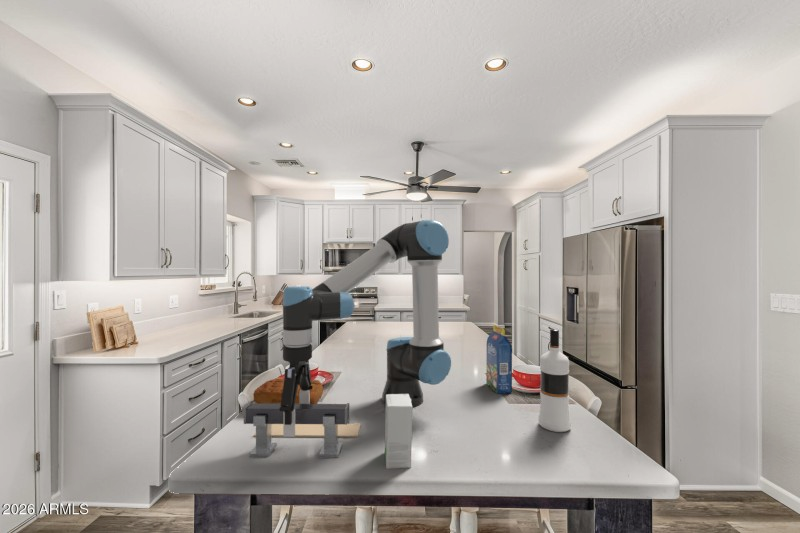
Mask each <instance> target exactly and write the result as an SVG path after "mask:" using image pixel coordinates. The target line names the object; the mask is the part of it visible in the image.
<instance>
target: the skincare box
mask: <svg viewBox="0 0 800 533" xmlns="http://www.w3.org/2000/svg"><path fill="white" fill-rule="evenodd" d="M413 409H414V407H413V406H412V403H411V399H410V397H409V394H386V404H385V417H384V418H385V420H384V421H385V423H384V424H385V427H384V459H385V469H389V470H390V469H391V470H392V469H408V468H409V469H411V468H412V442H413V441H412V439H413Z"/></svg>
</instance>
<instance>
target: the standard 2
mask: <svg viewBox="0 0 800 533" xmlns="http://www.w3.org/2000/svg"><path fill="white" fill-rule="evenodd" d="M323 426H324V437H323V445H322V447H321V449H320V450H319V453H318V458H339V456H340V454H341V450H342V448H343V443H342V442H339V437H338V424H335V416H323Z"/></svg>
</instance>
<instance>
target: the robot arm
mask: <svg viewBox="0 0 800 533" xmlns="http://www.w3.org/2000/svg"><path fill="white" fill-rule="evenodd" d="M449 243H450V238H449V234H448V231H447V229H446V227H444V226H443V224H442V223H441V222H439V221H437V220H434V219H433V220H432V219H425V220H424V219H423V220H418V221H414V222H408V223H407V222H406V223H403V224H401V225H399V226H396V227H395V228H393V229H392V230H390V231H389V232H388V233H387V234H385V235H384V236H382V237H381V238H380V239H378V240H377V241H376V245H374V246H373V247H371V248H370V249H368V250H367V251H366V252H364V253H362V254H361V255H360V256H358V257H357V258H356V259H354V260H353V261H351V262H350V263H348V264H347V265H346V266H344V267H343V268H341V269H339V270H338V271H337V272H336V273H334V274H332V275H330V277H328V278H327V279H326V280H324V281H323V282H321V283H319V284H318V285H316V286H315V287H314V288H312V287H311V286H304V285H303V286H301V285H300V286H296V285H295V286H287V287H285V288H284V290H283V296H282V323H283V324H282V325H283V326H282V331H281V332H280V333H281V334H280V335H281V336H283V337H282V343H283V347H282V360H283V361H284V362H288V364H289V367H288V368H285V369H284V377H283V378H284V385H283V392H282V399H281V406H280V409H279V410H280V411H283V437H282V438H295V437H294V436H295V409H294V405H295V400H296V395H297V390H298V385H299V386H300V389H301V390H300V391H299V404H310V390H312V388H313V386H310V385H311V384H312V381H311V380H312V376H311V370H310V360H311V359H312V358H313V345H312V342H313V322H315V321H324V320H325V321H327V320H338V319H339V320H341V319H345V318H346V319H347V318H350V317H351V316H352V315H353V313H354V309H355V301H354V297H353V296H352V294H351V293H349V292H351V291H352V290H353V289H355V288H356V287H358V286H360V284H362V283H363V282H365V281H366V280H368V279H369V277H372V276H373V275H374V274H375V273H376V272H378V271H379V270H381V269H383V267H385V266H386V265H388V264H389V263H390V264H393V263H395V262H397V261H398V260H399V259H402V258H405V257H407V260H406V261H407V262H408V263H409V265H410V266H411V272H412V274H411V275H412V278H411V279H412V282H411V283H412V285H411V286H412V321H413V322H412V323H413V324H412V330H413V332H412V333H413V334H412V336H403V337H395V338H390V339H388V341H387V343H386V344H387V345H386V350H385V351H386V381H385V384H384V387H383V391H382V394H381V401H382V403H383V404H384V405H386V394H409V397H410V399H411V403H412V406H413V408H414V407H419V406H420V405H421V404H422V403H423V402H424V393H423V390H422V386H421V384H420V382H421V383H422V384H428V385H439V384H441V383H442V382H444V380H446V377H447V376H449V374H450V371H451V367H452V358H451V356H450V354H449V353H448V352H447V351H446V350H445V348H444V346H445V344H444V340H443V339H442V337H440V330H439V328H440V326H439V325H440V322H439V320H440V319H439V276H438V274H439V270H438V266H439V264H441V262H442V261H443V255H444V253H445V252H446V251H447V249H448V248H449ZM287 405H288V406H287Z"/></svg>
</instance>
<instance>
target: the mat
mask: <svg viewBox="0 0 800 533" xmlns="http://www.w3.org/2000/svg"><path fill="white" fill-rule="evenodd" d="M360 429H361V423H348V424H347V425H345V424H338V438H358V436H359V433H360ZM253 437H254V438H256V432H255V433H254V434H253ZM280 437H281V438H284V437H283V424H271V438H280ZM293 438H324V426H323V424H295V436H294V437H293Z"/></svg>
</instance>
